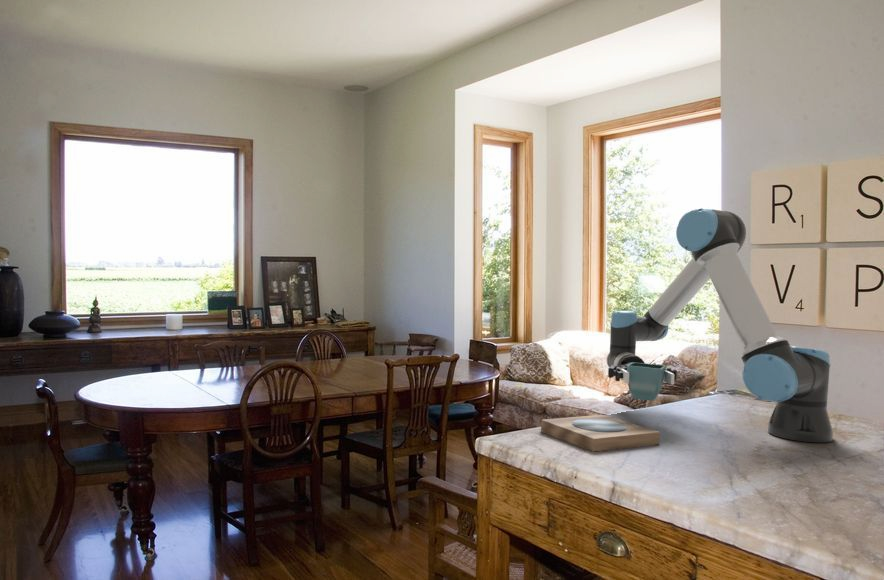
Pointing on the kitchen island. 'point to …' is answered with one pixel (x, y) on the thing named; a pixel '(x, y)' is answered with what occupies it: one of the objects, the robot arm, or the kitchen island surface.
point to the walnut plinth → (599, 432)
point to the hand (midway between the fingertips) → (650, 378)
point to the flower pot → (645, 380)
